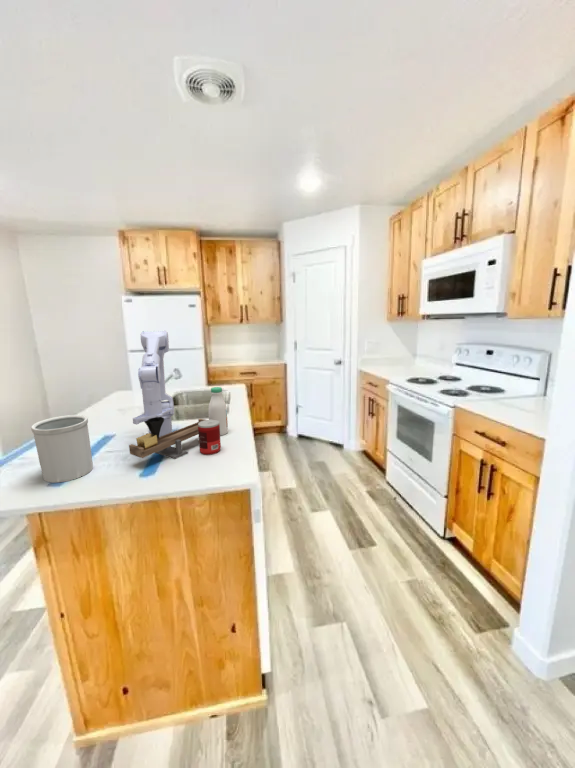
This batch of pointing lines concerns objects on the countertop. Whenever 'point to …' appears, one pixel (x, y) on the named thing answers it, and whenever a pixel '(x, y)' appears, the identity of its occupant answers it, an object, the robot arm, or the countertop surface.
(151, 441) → the block
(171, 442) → the beam
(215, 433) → the canned food
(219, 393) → the milk bottle
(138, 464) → the countertop surface
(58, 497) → the countertop surface
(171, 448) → the stand
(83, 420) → the utensil holder
